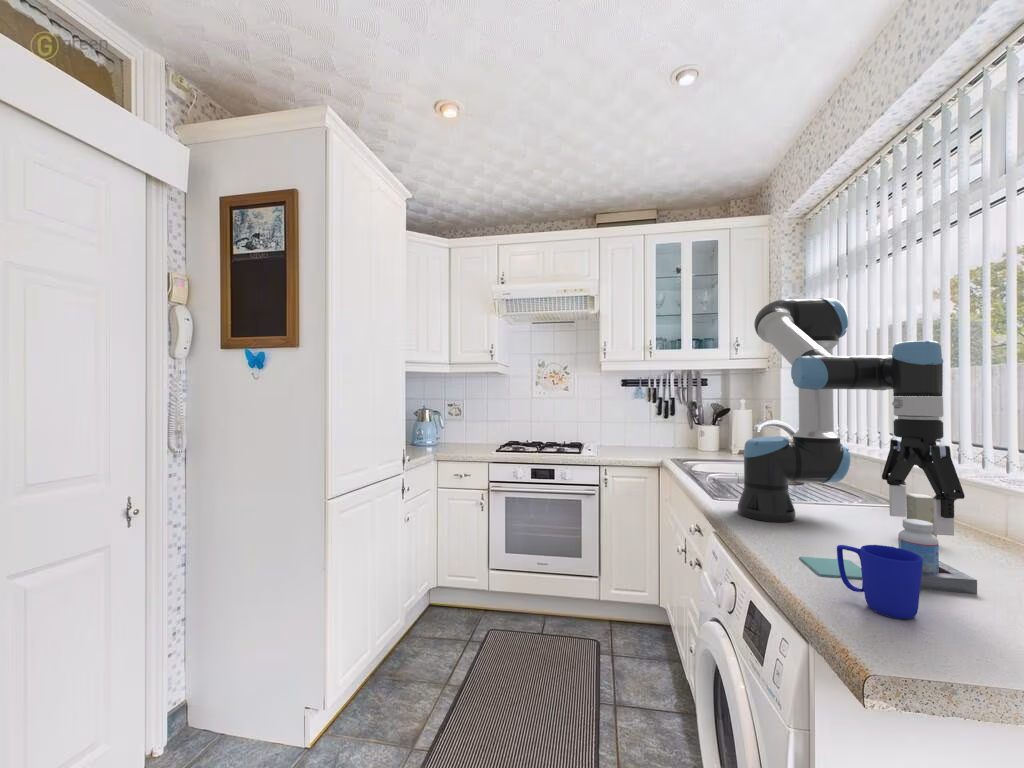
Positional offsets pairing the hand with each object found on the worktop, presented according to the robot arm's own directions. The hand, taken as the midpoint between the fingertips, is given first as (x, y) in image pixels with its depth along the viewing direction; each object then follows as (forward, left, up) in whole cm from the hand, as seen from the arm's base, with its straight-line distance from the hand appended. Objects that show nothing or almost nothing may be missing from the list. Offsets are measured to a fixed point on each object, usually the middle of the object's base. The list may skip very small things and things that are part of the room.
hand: (919, 525), depth 93 cm
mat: (-2, -14, -11) cm, 18 cm away
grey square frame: (0, 0, -11) cm, 11 cm away
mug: (+16, -16, -11) cm, 25 cm away
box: (-28, +17, -11) cm, 35 cm away
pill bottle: (0, 0, -11) cm, 11 cm away
